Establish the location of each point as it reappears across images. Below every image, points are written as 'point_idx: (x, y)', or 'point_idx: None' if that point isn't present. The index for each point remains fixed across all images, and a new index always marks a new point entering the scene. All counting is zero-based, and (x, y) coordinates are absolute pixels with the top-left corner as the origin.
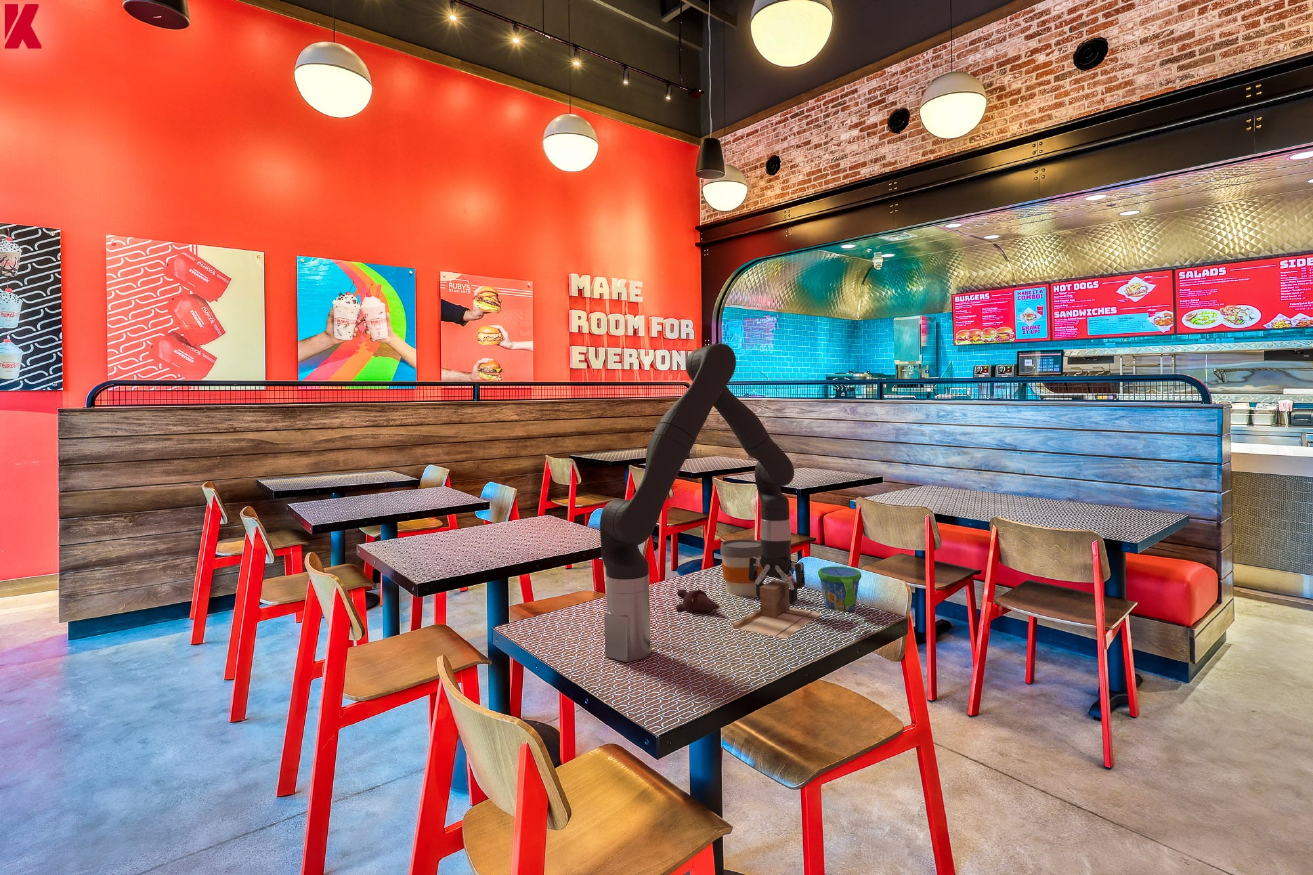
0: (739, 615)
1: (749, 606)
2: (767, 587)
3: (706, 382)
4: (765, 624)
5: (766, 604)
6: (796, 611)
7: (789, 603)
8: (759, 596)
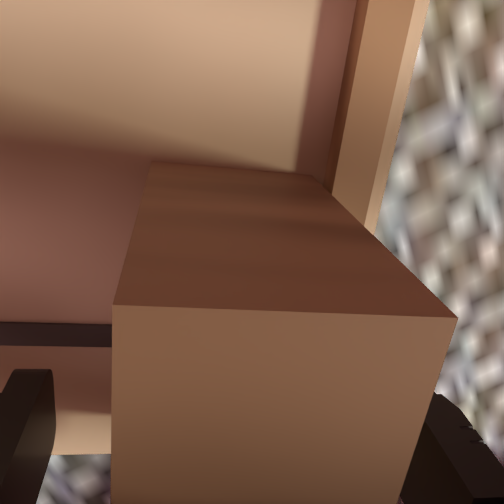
0: (494, 222)
1: None
2: (312, 371)
3: None
4: None
5: (265, 203)
6: (71, 404)
7: (47, 370)
8: None
